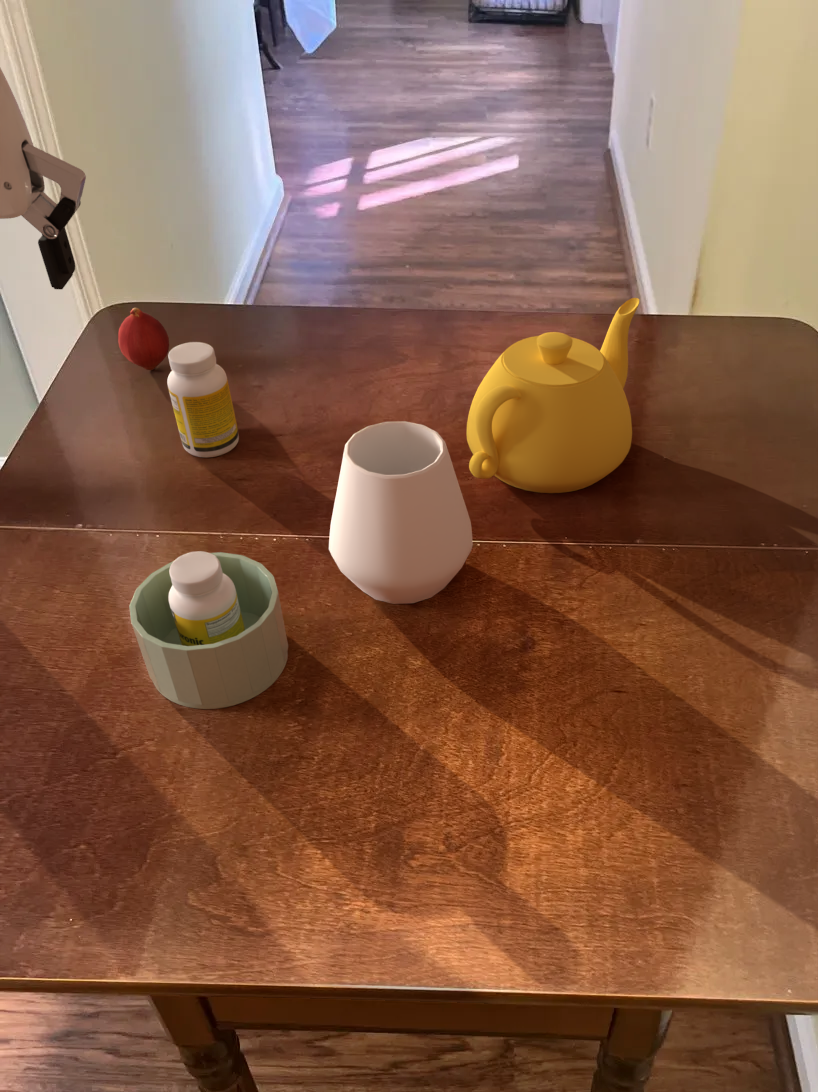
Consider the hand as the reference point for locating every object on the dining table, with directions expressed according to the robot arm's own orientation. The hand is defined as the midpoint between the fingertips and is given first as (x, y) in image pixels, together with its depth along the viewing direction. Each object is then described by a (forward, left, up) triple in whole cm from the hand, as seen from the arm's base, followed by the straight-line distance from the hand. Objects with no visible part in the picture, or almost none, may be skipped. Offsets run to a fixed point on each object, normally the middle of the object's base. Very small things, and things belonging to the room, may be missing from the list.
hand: (3, 281), depth 78 cm
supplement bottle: (+16, -16, -26) cm, 34 cm away
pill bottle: (+8, +17, -26) cm, 32 cm away
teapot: (+46, +17, -26) cm, 56 cm away
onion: (-3, +33, -26) cm, 42 cm away
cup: (+31, -4, -26) cm, 41 cm away
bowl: (+16, -16, -26) cm, 35 cm away
